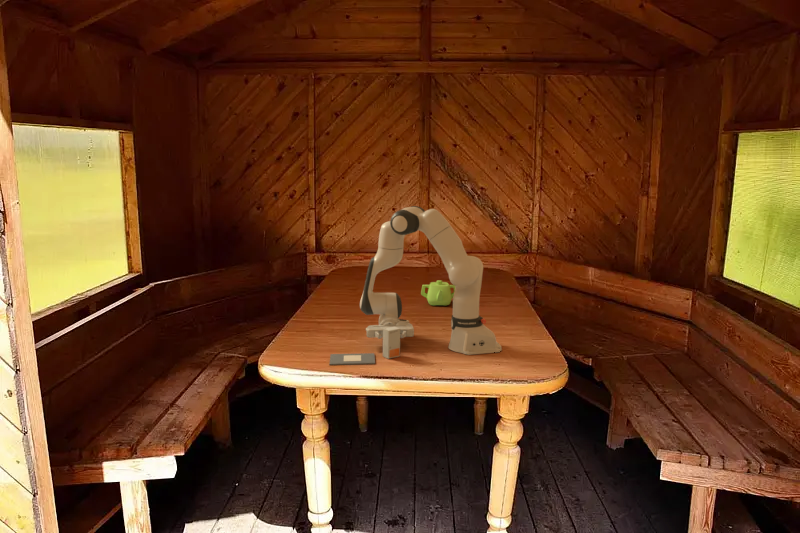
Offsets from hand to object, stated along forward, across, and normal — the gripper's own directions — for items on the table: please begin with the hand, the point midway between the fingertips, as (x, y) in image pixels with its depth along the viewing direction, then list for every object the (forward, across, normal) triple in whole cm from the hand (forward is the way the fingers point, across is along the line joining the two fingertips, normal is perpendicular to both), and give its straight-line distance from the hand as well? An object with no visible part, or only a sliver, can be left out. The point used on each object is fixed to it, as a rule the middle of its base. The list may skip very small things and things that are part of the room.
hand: (391, 336), depth 267 cm
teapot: (-82, +31, +7) cm, 87 cm away
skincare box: (+4, 0, +7) cm, 9 cm away
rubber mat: (+8, -16, +7) cm, 19 cm away
